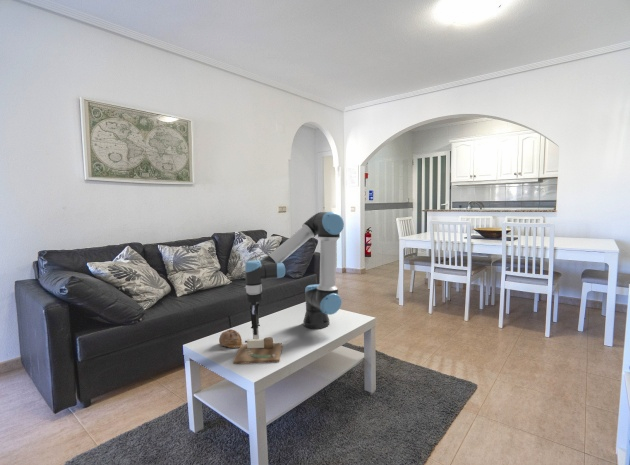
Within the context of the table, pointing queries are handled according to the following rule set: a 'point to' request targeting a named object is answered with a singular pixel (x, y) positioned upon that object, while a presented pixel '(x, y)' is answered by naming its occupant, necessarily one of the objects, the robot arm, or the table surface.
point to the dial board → (258, 354)
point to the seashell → (230, 339)
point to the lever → (260, 343)
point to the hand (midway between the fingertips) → (256, 340)
